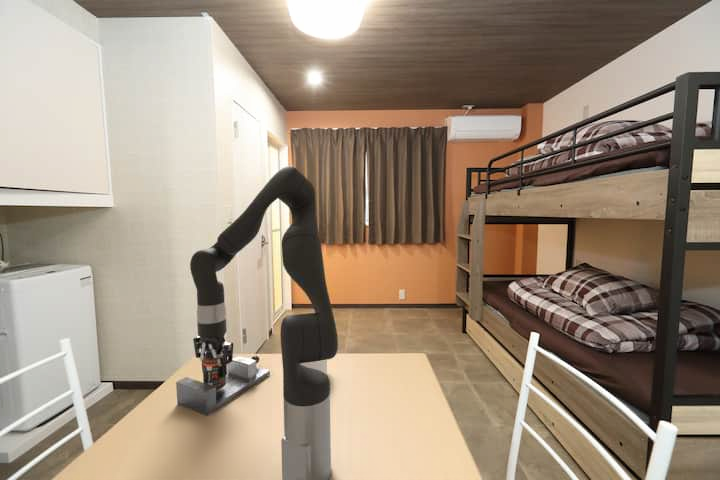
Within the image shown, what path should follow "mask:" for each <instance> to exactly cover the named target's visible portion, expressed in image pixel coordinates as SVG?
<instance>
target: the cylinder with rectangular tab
mask: <svg viewBox="0 0 720 480" xmlns="http://www.w3.org/2000/svg"><path fill="white" fill-rule="evenodd" d="M300 364H301V365H303V366H305V367H308V368H312V369H316V370H319V371H322V372H323V373H325V374H326V375H327V376H328V368H327V367H328V359H327V360H321V361H314V362H307V363H300Z"/></svg>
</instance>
